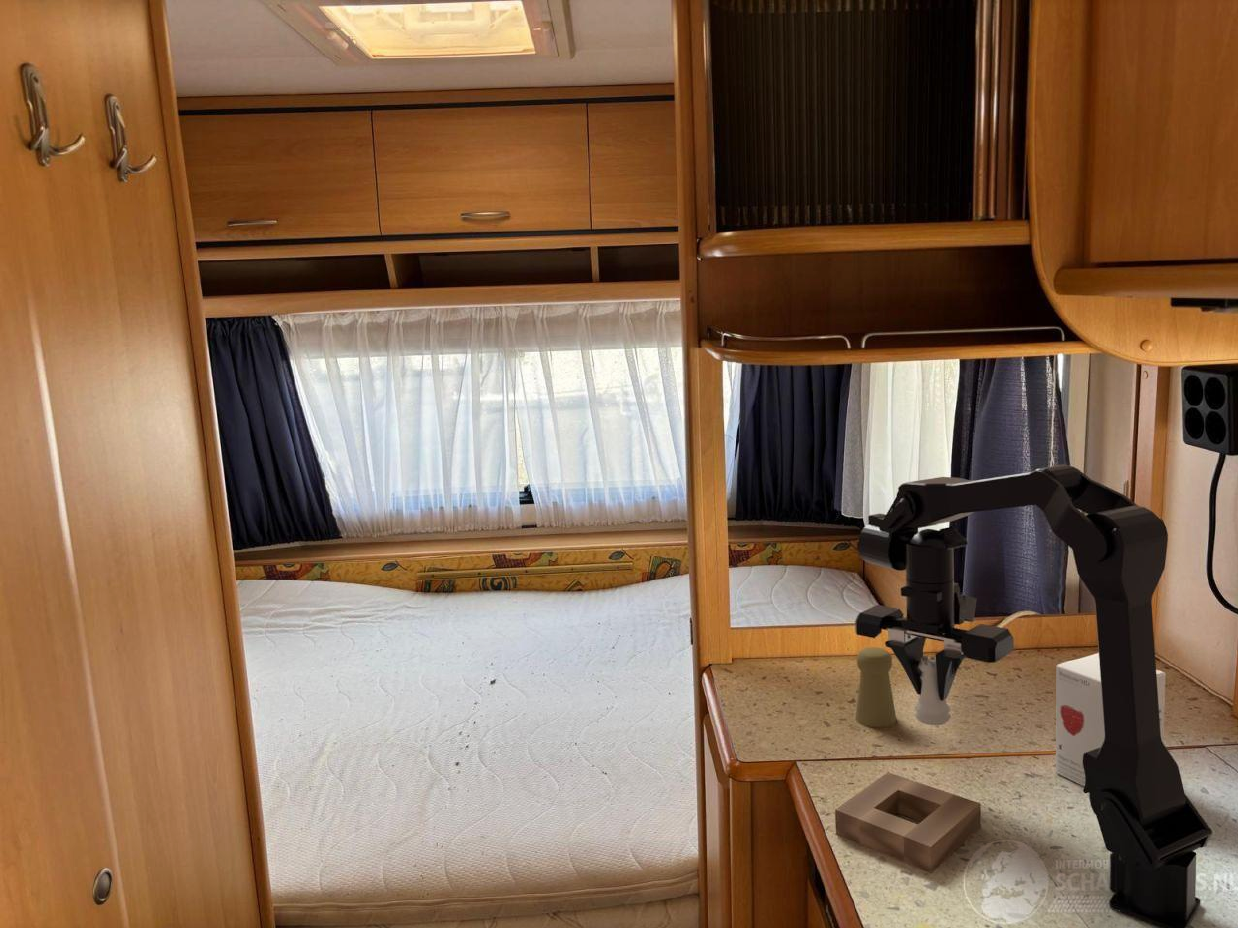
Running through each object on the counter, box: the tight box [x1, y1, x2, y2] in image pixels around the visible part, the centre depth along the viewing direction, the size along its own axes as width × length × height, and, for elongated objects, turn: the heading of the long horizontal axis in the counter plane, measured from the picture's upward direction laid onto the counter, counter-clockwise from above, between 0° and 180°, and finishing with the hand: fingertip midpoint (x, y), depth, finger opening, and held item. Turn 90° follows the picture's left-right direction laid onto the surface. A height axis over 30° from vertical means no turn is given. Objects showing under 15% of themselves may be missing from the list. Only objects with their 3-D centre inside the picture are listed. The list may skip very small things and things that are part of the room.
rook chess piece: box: [913, 655, 952, 726], centre depth 113 cm, size 4×4×8 cm
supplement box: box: [1055, 652, 1167, 787], centre depth 112 cm, size 9×9×15 cm
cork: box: [855, 646, 897, 728], centre depth 134 cm, size 6×6×11 cm
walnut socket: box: [834, 771, 982, 873], centre depth 104 cm, size 12×12×3 cm
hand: (932, 696), depth 113 cm, fingers closed on rook chess piece, 3 cm apart
